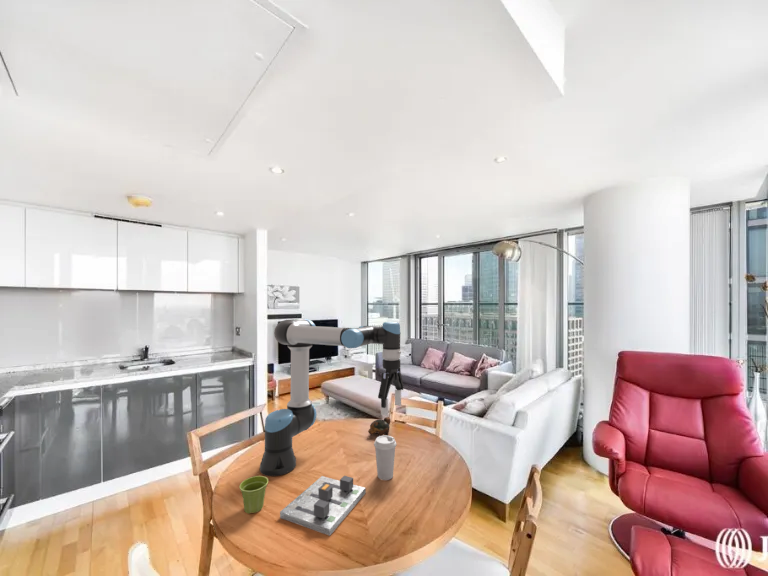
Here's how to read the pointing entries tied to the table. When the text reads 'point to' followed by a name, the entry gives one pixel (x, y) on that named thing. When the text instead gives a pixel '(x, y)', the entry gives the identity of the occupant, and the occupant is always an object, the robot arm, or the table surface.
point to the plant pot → (253, 493)
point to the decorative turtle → (380, 426)
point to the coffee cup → (385, 456)
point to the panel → (338, 504)
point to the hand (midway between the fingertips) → (391, 410)
